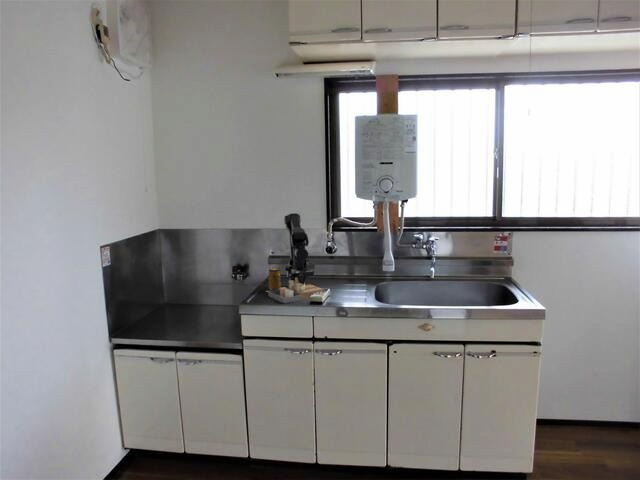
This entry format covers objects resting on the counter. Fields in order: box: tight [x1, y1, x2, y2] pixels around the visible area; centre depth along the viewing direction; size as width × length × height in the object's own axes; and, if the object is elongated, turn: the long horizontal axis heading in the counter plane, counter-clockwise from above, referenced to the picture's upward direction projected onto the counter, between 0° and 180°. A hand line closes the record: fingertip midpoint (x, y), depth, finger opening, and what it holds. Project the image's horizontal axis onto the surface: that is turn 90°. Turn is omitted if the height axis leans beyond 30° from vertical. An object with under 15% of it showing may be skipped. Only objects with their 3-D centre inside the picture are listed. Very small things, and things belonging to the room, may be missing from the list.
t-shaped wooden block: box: [288, 277, 306, 293], centre depth 226 cm, size 12×5×6 cm, turn 33°
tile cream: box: [285, 289, 293, 298], centre depth 220 cm, size 4×4×2 cm
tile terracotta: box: [280, 286, 289, 297], centre depth 225 cm, size 4×4×2 cm
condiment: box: [265, 267, 282, 294], centre depth 234 cm, size 7×8×12 cm
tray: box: [268, 290, 302, 304], centre depth 222 cm, size 16×9×2 cm, turn 33°
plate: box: [287, 283, 325, 301], centre depth 228 cm, size 14×14×3 cm
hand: (299, 287), depth 227 cm, fingers closed on t-shaped wooden block, 3 cm apart
